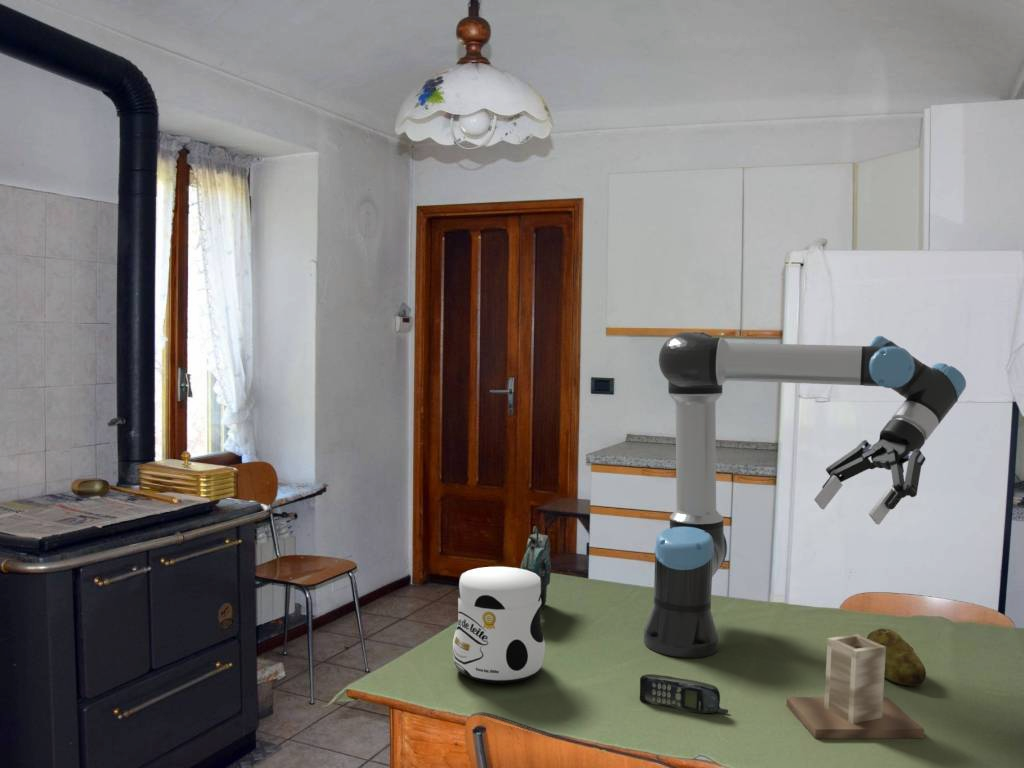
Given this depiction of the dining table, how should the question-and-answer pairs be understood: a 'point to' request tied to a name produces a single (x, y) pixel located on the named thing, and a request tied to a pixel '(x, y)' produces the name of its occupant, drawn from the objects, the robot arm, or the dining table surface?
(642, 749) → the dining table surface
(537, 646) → the doce de leite jar
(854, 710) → the wooden pencil cup
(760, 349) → the robot arm
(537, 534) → the green statue
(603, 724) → the dining table surface
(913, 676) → the potato
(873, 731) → the flat brown rectangular board
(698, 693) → the mobile phone
